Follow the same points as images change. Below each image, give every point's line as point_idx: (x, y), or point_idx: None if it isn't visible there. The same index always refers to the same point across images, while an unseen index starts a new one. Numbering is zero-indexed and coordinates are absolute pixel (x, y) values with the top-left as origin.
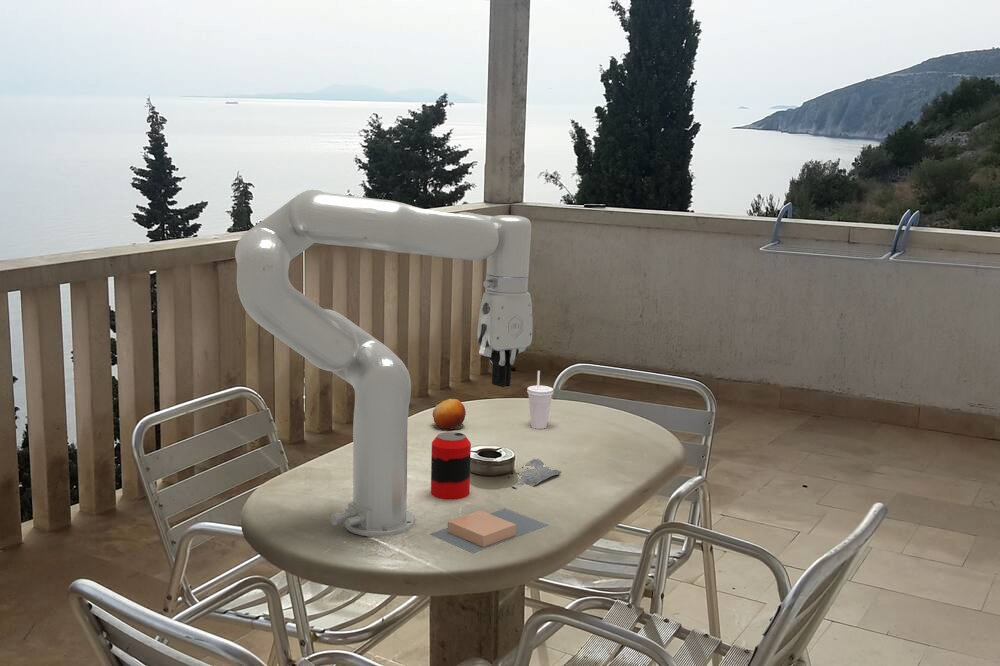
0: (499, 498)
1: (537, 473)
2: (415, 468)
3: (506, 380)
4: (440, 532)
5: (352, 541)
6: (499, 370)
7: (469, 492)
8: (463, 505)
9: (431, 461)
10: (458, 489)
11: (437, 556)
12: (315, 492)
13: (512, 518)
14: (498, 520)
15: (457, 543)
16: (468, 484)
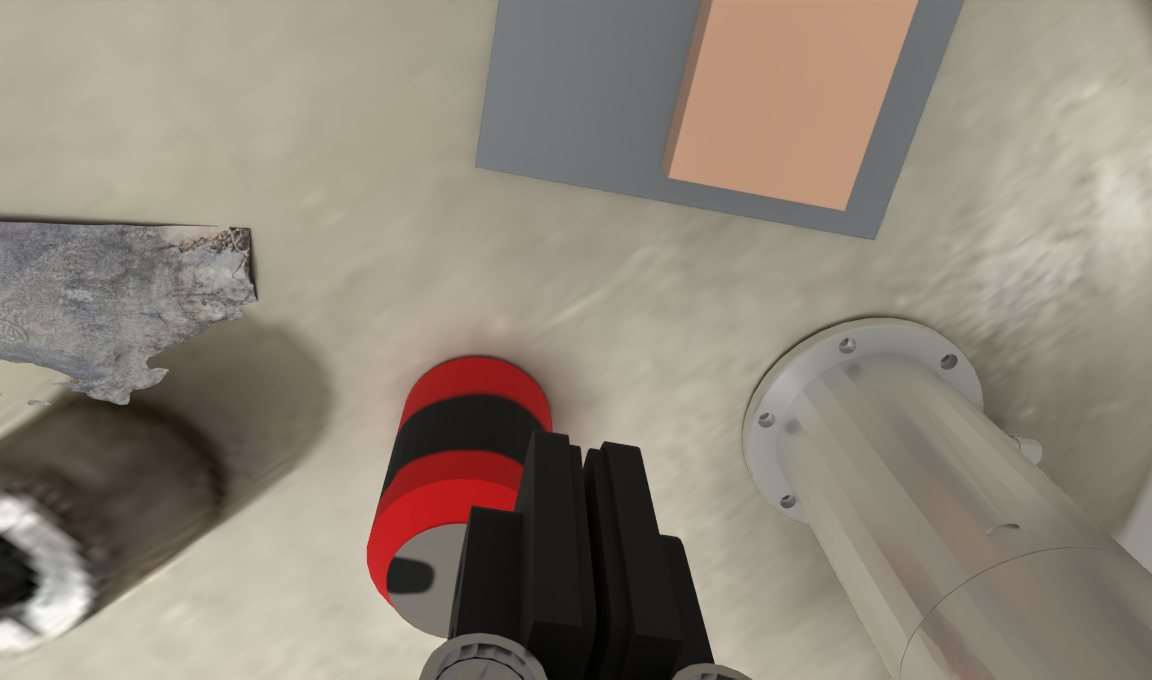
0: (371, 262)
1: (13, 295)
2: (344, 645)
3: (600, 483)
4: (841, 217)
5: (1015, 398)
6: (698, 638)
7: (431, 372)
8: (532, 324)
9: None
10: (511, 384)
11: (1019, 103)
12: None
13: (553, 72)
14: (727, 42)
15: (908, 101)
16: (451, 382)
